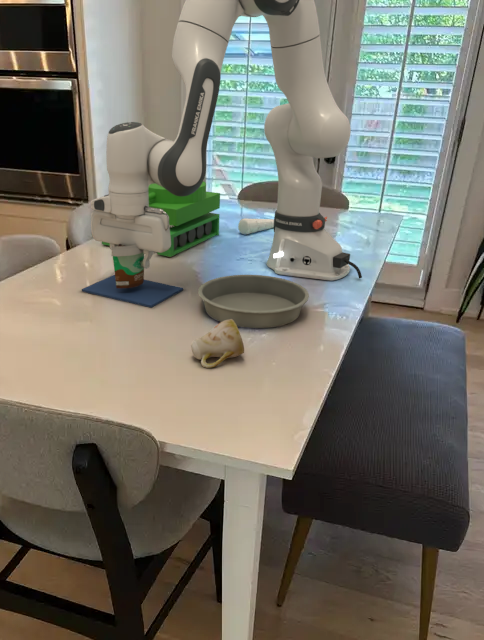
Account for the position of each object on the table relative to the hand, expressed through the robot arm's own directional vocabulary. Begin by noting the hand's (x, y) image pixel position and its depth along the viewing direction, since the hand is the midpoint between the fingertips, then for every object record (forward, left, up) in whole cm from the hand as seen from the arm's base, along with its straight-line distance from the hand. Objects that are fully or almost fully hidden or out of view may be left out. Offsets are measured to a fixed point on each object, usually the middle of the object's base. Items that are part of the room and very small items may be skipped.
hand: (131, 264), depth 142 cm
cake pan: (-30, -4, -6) cm, 31 cm away
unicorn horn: (-2, -72, -6) cm, 72 cm away
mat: (0, 0, -6) cm, 6 cm away
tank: (+19, -39, -6) cm, 44 cm away
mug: (-35, +22, -6) cm, 42 cm away
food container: (0, 0, -4) cm, 5 cm away
